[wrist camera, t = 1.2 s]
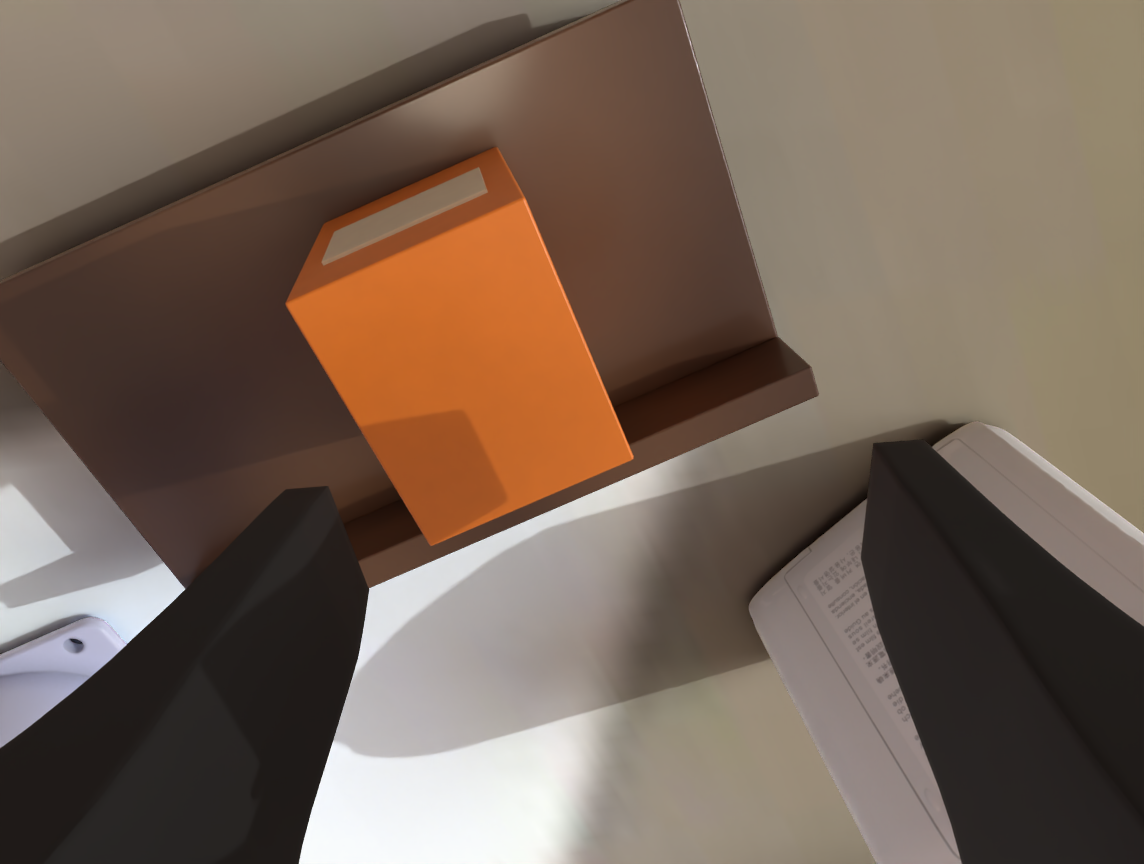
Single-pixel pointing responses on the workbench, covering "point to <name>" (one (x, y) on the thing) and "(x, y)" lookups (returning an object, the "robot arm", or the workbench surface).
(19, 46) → the workbench surface
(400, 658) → the workbench surface
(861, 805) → the white boxy piece
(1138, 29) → the workbench surface
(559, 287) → the packet
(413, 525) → the shelf
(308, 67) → the workbench surface
